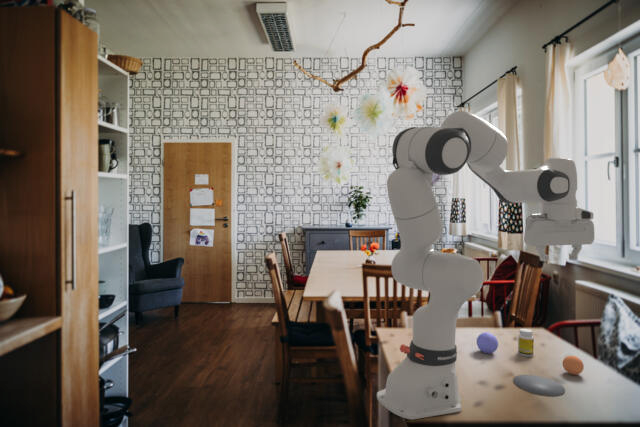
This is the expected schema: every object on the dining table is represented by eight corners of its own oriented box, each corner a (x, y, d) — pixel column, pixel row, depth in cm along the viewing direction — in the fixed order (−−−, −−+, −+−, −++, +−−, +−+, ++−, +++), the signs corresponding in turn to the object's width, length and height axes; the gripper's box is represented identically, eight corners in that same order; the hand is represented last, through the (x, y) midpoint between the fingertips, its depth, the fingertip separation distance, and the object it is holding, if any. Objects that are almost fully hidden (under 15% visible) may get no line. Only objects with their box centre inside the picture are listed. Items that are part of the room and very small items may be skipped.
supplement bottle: (535, 357, 134) (535, 332, 134) (520, 356, 135) (520, 331, 135) (530, 352, 139) (531, 328, 139) (516, 351, 140) (516, 327, 140)
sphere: (493, 349, 141) (494, 330, 141) (500, 357, 134) (501, 336, 134) (473, 348, 142) (474, 329, 142) (479, 356, 135) (480, 335, 135)
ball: (576, 379, 118) (577, 360, 117) (558, 372, 122) (558, 354, 122) (587, 375, 120) (587, 357, 120) (568, 368, 125) (569, 351, 125)
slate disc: (546, 400, 105) (546, 399, 105) (503, 380, 116) (503, 380, 116) (574, 389, 111) (575, 389, 111) (531, 372, 122) (531, 371, 122)
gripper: (533, 214, 111) (533, 263, 112) (598, 213, 114) (598, 260, 114) (519, 213, 118) (519, 259, 118) (581, 212, 120) (581, 257, 121)
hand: (558, 260), depth 116 cm, fingers open, 8 cm apart
